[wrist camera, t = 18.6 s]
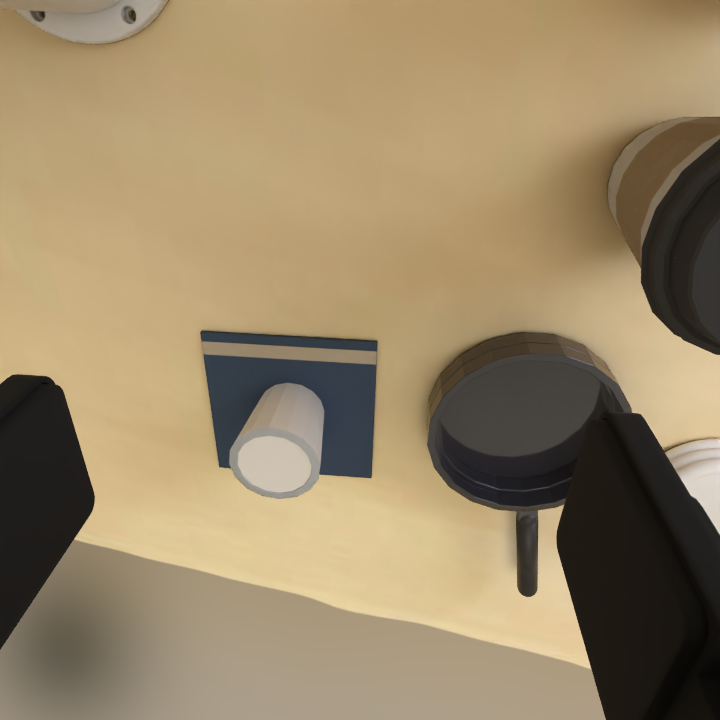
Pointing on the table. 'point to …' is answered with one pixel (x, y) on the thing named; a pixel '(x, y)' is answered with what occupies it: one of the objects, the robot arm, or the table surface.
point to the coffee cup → (674, 222)
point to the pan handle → (527, 551)
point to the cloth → (304, 367)
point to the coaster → (700, 473)
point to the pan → (517, 418)
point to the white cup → (280, 443)
